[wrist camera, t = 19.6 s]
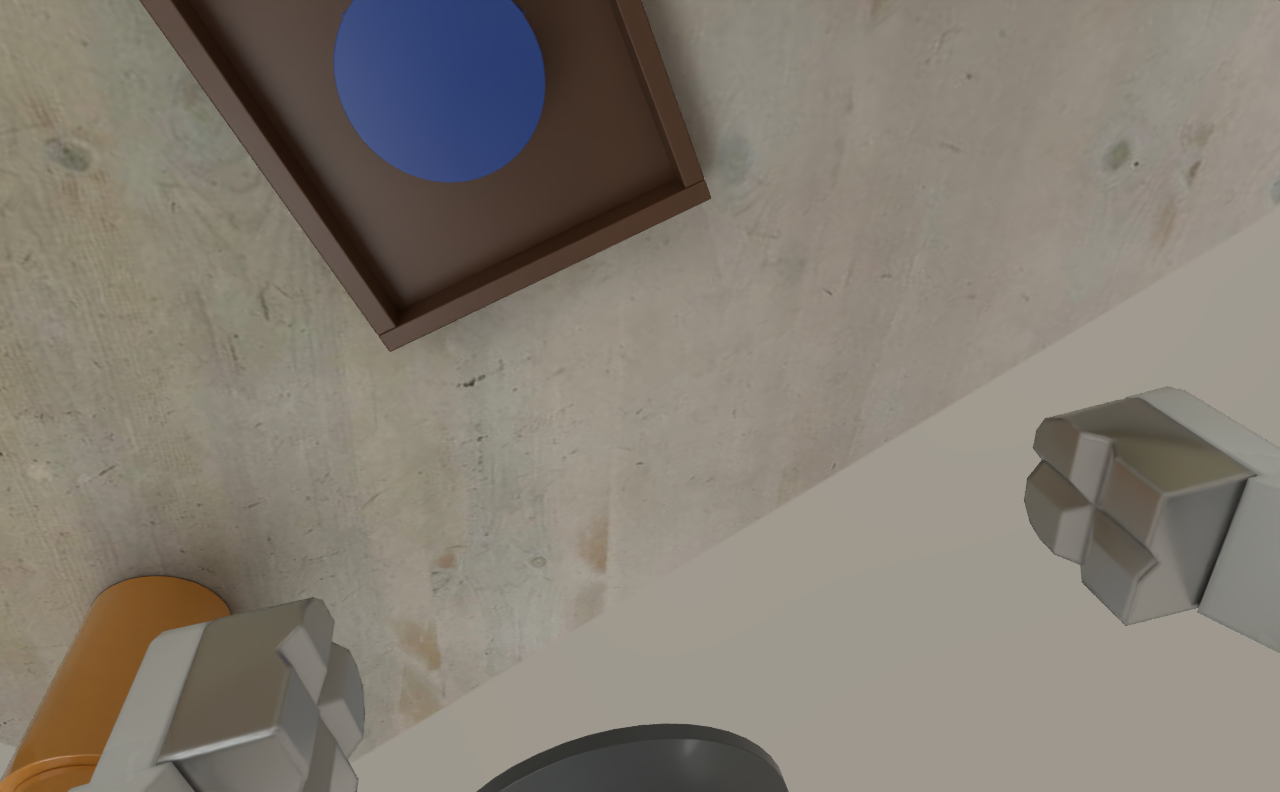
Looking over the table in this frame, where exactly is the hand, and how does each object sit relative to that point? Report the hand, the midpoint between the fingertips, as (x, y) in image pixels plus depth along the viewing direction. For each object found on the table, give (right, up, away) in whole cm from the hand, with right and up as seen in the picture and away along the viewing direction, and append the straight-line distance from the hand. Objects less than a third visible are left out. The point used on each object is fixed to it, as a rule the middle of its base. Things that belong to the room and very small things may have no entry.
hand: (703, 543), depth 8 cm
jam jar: (-23, -9, +27) cm, 37 cm away
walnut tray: (-8, +13, +18) cm, 23 cm away
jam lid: (-7, +13, +17) cm, 23 cm away
